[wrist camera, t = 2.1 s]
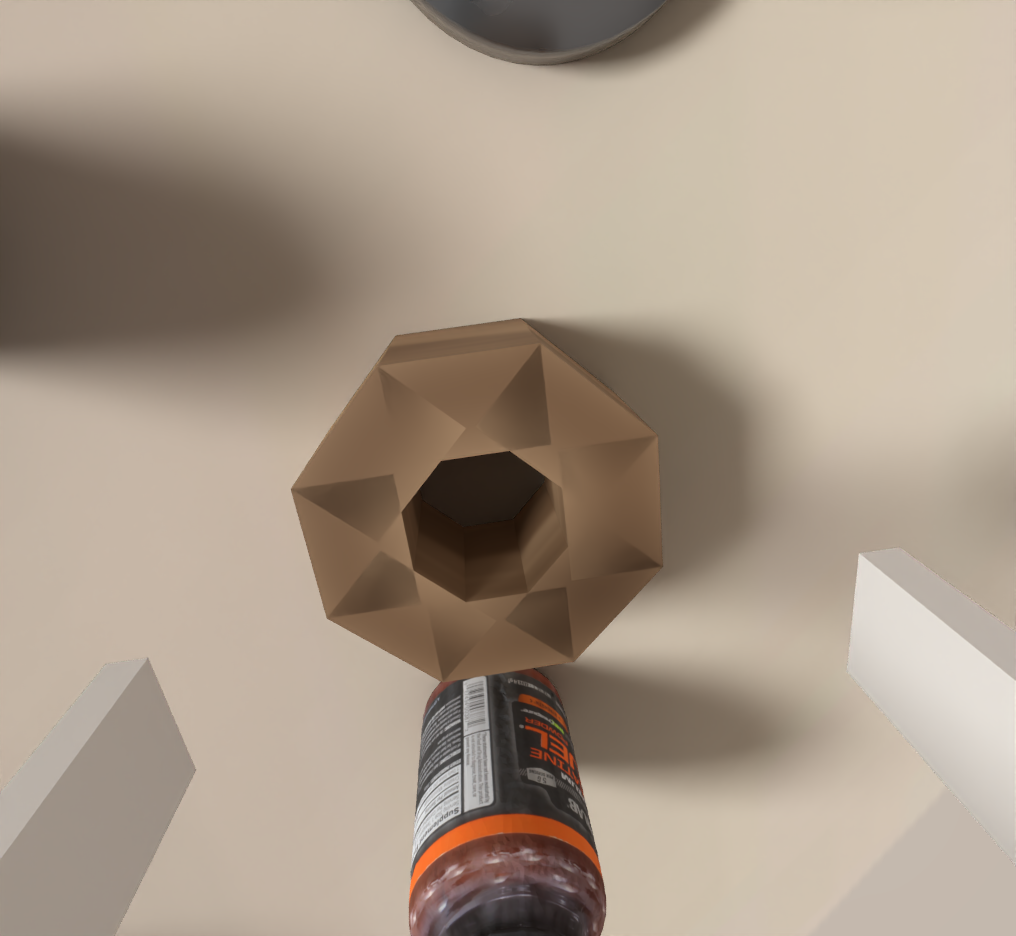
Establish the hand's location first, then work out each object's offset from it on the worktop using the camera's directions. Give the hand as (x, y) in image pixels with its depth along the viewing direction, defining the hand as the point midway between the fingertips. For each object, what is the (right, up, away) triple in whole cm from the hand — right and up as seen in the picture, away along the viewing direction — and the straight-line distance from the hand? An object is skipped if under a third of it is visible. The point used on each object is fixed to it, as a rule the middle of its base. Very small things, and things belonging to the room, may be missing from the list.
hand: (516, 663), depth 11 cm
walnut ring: (-1, +4, +10) cm, 11 cm away
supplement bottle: (-1, -7, +15) cm, 16 cm away
